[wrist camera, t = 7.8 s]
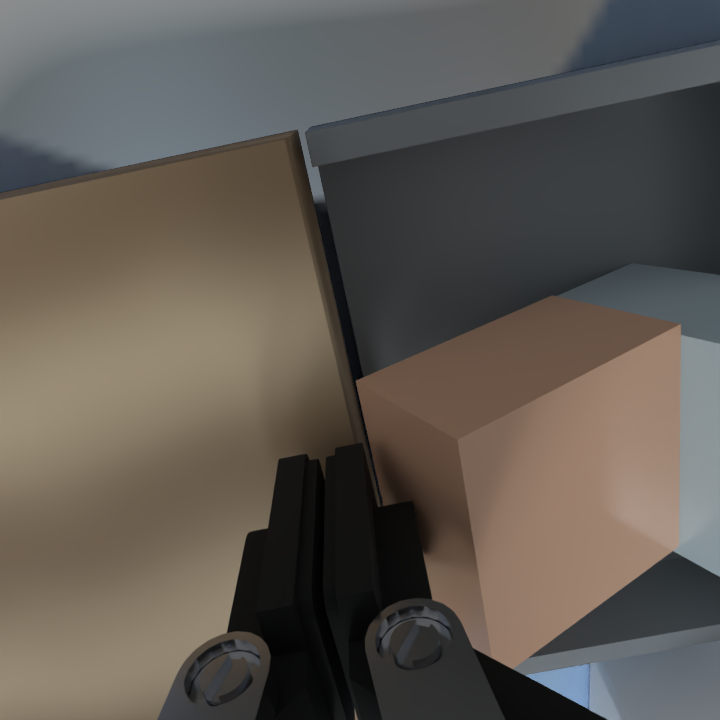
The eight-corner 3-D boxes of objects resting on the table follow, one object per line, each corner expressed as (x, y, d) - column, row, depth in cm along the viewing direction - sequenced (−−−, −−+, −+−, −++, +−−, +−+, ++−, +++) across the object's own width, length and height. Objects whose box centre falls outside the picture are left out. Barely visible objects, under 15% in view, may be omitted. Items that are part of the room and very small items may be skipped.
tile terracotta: (567, 484, 15) (678, 546, 13) (401, 586, 13) (495, 681, 11) (552, 295, 13) (680, 324, 11) (355, 380, 11) (457, 440, 9)
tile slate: (558, 487, 16) (637, 439, 17) (763, 600, 11) (849, 525, 13) (541, 302, 14) (631, 263, 15) (779, 358, 10) (879, 296, 11)
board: (401, 598, 19) (417, 715, 16) (-27, 675, 20) (-109, 806, 16) (297, 129, 14) (285, 139, 10) (-287, 253, 14) (-499, 305, 11)
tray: (721, 552, 19) (787, 628, 16) (413, 608, 19) (426, 692, 17) (743, 35, 14) (848, 17, 11) (310, 126, 14) (305, 132, 11)
